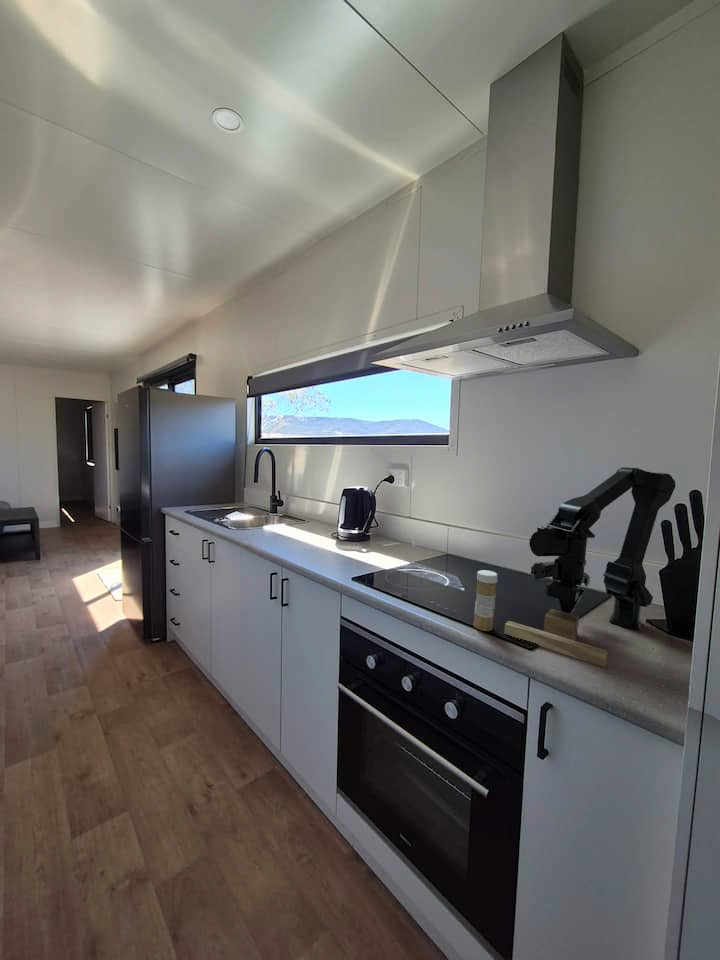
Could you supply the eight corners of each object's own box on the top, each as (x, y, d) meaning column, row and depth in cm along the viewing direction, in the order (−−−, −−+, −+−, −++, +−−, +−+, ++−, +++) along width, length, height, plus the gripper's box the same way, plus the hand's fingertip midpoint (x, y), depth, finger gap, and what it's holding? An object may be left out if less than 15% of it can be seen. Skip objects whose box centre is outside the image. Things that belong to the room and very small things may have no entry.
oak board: (507, 630, 94) (508, 620, 94) (606, 662, 82) (607, 650, 82) (504, 634, 92) (505, 623, 92) (604, 667, 80) (605, 655, 80)
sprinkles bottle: (478, 621, 99) (483, 568, 98) (496, 628, 96) (501, 573, 95) (469, 627, 95) (474, 571, 94) (487, 633, 92) (492, 576, 91)
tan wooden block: (549, 628, 98) (551, 608, 97) (577, 636, 94) (579, 615, 94) (543, 636, 93) (545, 615, 93) (571, 645, 89) (573, 623, 89)
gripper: (545, 543, 108) (540, 599, 109) (525, 554, 94) (519, 619, 95) (592, 551, 101) (586, 611, 103) (578, 565, 87) (571, 635, 88)
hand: (565, 618), depth 97 cm, fingers closed
